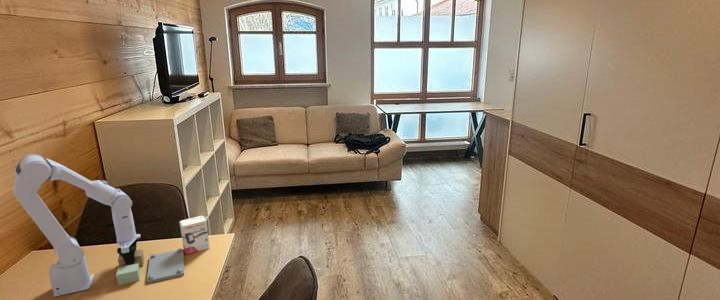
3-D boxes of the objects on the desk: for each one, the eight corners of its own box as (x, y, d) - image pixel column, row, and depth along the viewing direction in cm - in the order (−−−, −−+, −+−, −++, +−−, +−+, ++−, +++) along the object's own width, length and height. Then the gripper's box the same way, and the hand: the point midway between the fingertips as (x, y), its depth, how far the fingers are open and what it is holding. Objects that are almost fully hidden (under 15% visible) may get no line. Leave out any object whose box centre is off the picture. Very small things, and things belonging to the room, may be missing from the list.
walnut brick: (120, 270, 134) (117, 260, 133) (121, 263, 138) (119, 253, 137) (143, 265, 137) (141, 255, 136) (144, 258, 141) (142, 249, 140)
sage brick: (118, 285, 126) (116, 275, 125) (119, 278, 130) (117, 267, 129) (139, 281, 129) (137, 270, 128) (140, 273, 133) (138, 263, 132)
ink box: (186, 255, 143) (181, 226, 139) (183, 249, 147) (178, 220, 143) (210, 248, 147) (206, 219, 144) (207, 242, 151) (203, 214, 148)
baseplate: (147, 283, 127) (146, 279, 127) (150, 258, 141) (149, 254, 141) (184, 275, 131) (183, 271, 131) (183, 251, 145) (183, 247, 145)
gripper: (135, 233, 128) (142, 269, 132) (139, 214, 141) (146, 248, 145) (110, 237, 125) (118, 274, 129) (117, 218, 138) (124, 252, 142)
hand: (131, 260), depth 137 cm, fingers closed on walnut brick, 4 cm apart
